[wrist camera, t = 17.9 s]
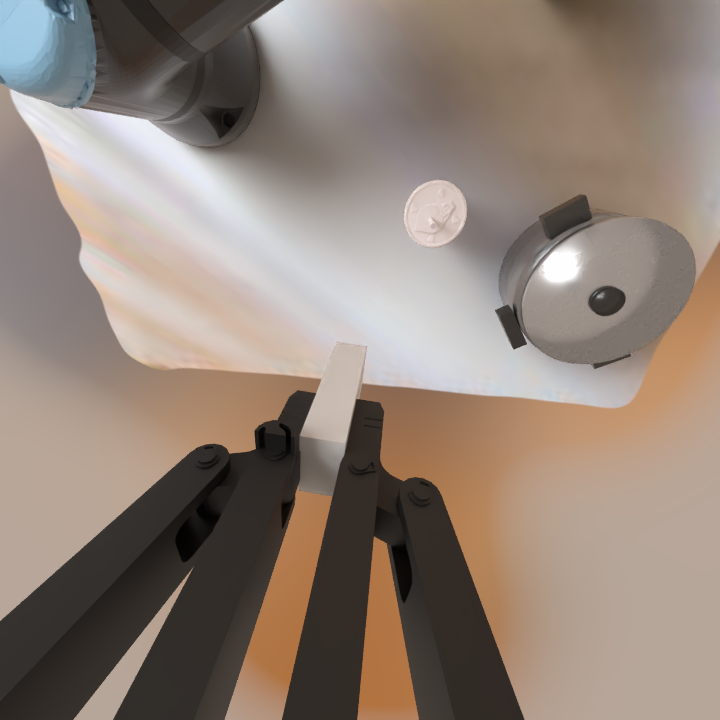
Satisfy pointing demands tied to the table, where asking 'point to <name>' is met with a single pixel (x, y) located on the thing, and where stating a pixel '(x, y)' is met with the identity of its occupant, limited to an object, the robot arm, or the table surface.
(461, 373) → the table surface
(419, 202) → the smoothie
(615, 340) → the lid
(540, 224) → the cooker
